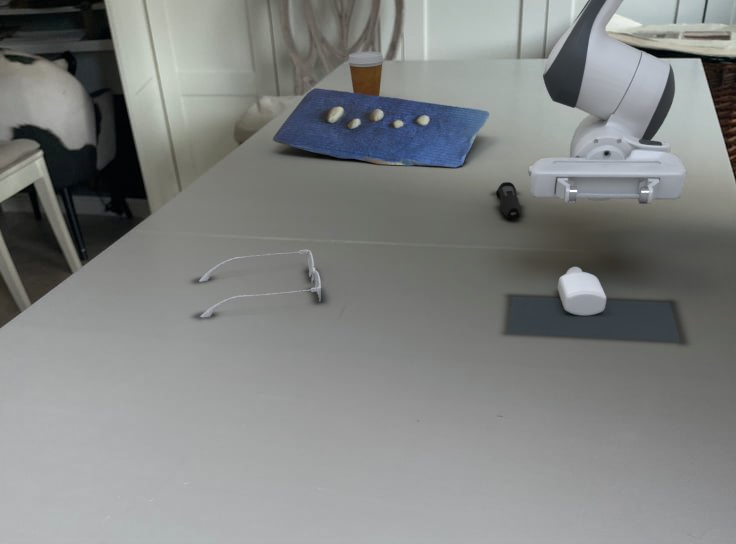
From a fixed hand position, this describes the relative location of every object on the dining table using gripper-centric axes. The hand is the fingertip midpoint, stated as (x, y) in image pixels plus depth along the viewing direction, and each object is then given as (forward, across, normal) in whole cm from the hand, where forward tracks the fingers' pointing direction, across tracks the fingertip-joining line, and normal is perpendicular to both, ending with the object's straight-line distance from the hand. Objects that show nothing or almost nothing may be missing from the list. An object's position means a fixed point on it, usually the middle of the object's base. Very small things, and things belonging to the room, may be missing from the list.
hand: (608, 197), depth 105 cm
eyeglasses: (0, -49, +16) cm, 52 cm away
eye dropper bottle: (+4, -1, +13) cm, 14 cm away
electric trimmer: (-42, -13, +16) cm, 47 cm away
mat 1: (-83, -43, +15) cm, 95 cm away
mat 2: (+4, 0, +16) cm, 16 cm away
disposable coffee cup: (-123, -54, +15) cm, 135 cm away
